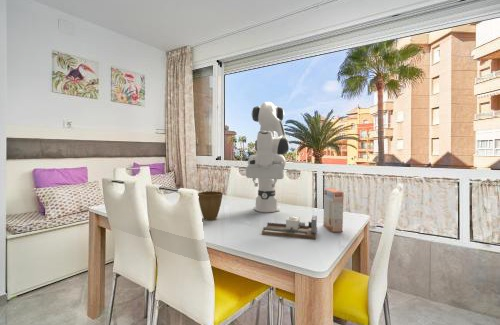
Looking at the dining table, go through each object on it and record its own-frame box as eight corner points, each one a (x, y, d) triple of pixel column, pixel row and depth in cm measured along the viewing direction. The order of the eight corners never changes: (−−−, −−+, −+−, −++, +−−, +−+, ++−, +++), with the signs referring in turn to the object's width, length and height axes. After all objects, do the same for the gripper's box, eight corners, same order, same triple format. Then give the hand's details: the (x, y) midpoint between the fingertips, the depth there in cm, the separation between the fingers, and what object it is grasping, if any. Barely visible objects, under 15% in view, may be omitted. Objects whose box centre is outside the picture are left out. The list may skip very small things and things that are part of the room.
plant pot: (216, 223, 157) (216, 195, 156) (193, 220, 162) (193, 194, 161) (226, 217, 171) (226, 191, 170) (205, 215, 176) (205, 190, 175)
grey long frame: (267, 224, 149) (267, 211, 149) (316, 228, 142) (316, 215, 141) (263, 229, 139) (263, 216, 139) (315, 234, 132) (315, 220, 132)
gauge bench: (268, 226, 151) (268, 222, 151) (316, 230, 144) (316, 227, 144) (262, 234, 137) (262, 230, 137) (315, 239, 130) (315, 235, 130)
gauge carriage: (288, 225, 144) (288, 215, 144) (305, 227, 142) (305, 216, 141) (284, 231, 135) (285, 220, 134) (303, 233, 132) (303, 221, 132)
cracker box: (343, 232, 141) (344, 192, 140) (331, 232, 140) (332, 192, 139) (333, 224, 155) (334, 188, 153) (323, 224, 154) (323, 188, 153)
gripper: (285, 161, 146) (284, 186, 147) (248, 160, 151) (248, 185, 152) (283, 162, 139) (283, 188, 141) (245, 161, 145) (245, 186, 146)
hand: (264, 186), depth 147 cm, fingers open, 8 cm apart
